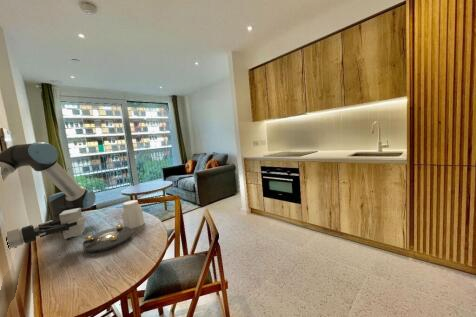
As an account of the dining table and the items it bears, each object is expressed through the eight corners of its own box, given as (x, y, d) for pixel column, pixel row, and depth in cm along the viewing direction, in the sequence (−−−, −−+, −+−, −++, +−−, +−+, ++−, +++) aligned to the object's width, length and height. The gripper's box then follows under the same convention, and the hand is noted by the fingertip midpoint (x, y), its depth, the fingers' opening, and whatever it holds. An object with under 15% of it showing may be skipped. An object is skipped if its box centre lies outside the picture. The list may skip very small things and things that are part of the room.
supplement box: (63, 239, 104) (58, 215, 102) (68, 233, 110) (63, 210, 109) (81, 235, 107) (76, 211, 105) (85, 229, 113) (80, 207, 112)
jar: (124, 230, 125) (120, 206, 123) (123, 225, 133) (119, 202, 131) (145, 224, 131) (141, 201, 129) (143, 220, 139) (139, 198, 137)
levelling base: (91, 238, 118) (90, 229, 118) (134, 229, 125) (133, 220, 125) (76, 259, 98) (74, 248, 97) (128, 246, 105) (127, 236, 104)
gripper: (25, 236, 104) (80, 220, 119) (23, 251, 88) (88, 230, 103) (21, 222, 103) (78, 207, 118) (19, 235, 87) (85, 215, 102)
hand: (82, 218), depth 111 cm, fingers closed on supplement box, 9 cm apart
